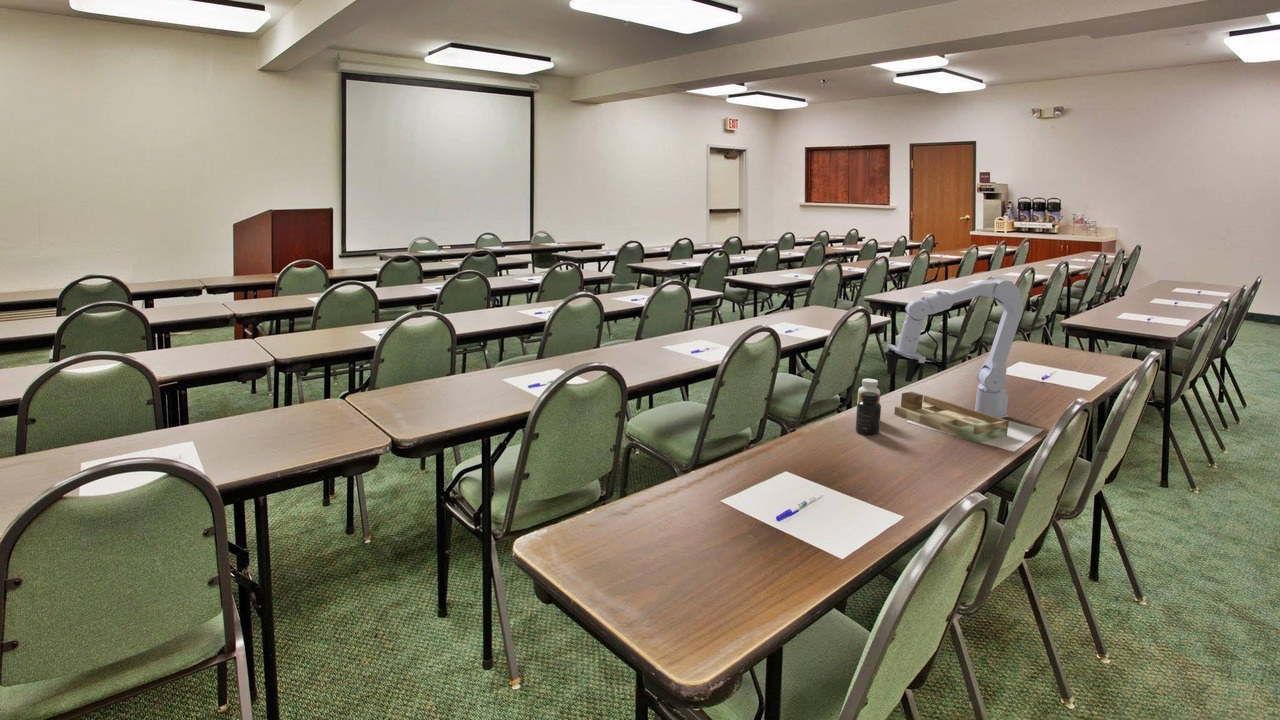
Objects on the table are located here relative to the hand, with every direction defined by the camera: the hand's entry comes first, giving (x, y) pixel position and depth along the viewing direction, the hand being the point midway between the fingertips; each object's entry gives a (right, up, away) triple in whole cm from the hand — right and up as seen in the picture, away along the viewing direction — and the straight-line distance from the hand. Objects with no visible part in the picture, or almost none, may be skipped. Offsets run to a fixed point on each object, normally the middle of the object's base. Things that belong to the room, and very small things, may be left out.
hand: (899, 377), depth 230 cm
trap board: (+11, -14, -10) cm, 21 cm away
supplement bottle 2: (-16, -16, -18) cm, 29 cm away
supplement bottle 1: (-12, -13, -6) cm, 19 cm away
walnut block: (+3, -10, -2) cm, 10 cm away
